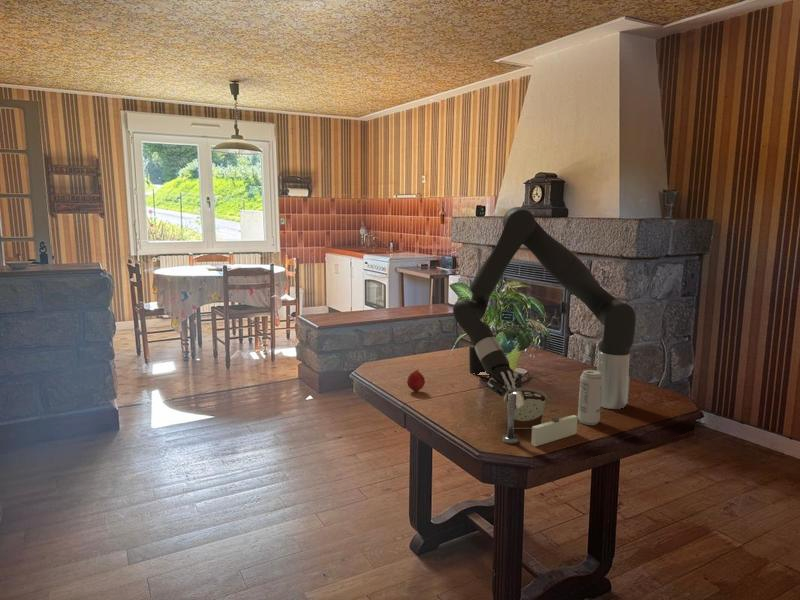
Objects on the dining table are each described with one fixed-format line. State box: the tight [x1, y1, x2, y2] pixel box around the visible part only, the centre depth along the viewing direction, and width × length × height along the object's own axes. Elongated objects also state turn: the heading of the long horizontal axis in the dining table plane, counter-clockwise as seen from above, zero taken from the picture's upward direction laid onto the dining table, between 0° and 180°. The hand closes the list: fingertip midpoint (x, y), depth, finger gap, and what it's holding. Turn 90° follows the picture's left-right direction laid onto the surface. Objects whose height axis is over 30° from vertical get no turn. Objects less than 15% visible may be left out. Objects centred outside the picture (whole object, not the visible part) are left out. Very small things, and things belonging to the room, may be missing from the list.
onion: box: [406, 368, 426, 393], centre depth 183 cm, size 6×6×8 cm
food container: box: [503, 387, 549, 430], centre depth 155 cm, size 12×6×10 cm, turn 92°
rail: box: [530, 414, 578, 448], centre depth 146 cm, size 16×1×6 cm, turn 123°
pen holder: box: [468, 346, 485, 374], centre depth 206 cm, size 9×9×10 cm
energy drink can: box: [577, 369, 603, 426], centre depth 158 cm, size 6×6×15 cm
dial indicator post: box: [502, 391, 524, 445], centre depth 144 cm, size 4×4×13 cm
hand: (518, 406), depth 157 cm, fingers closed
